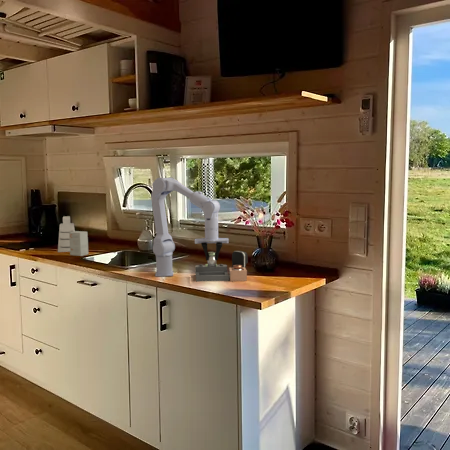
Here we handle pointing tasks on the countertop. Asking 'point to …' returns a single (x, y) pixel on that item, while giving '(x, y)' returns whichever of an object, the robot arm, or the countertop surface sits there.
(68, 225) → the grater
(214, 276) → the tester
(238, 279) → the cup
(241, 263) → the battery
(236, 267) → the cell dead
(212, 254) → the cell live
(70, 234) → the small box
